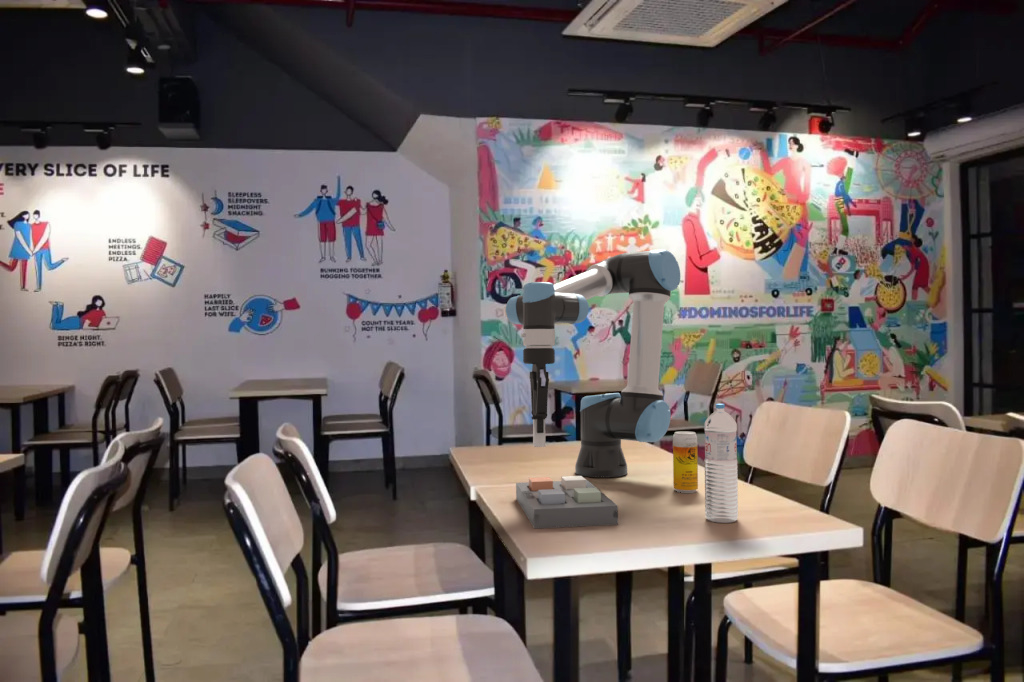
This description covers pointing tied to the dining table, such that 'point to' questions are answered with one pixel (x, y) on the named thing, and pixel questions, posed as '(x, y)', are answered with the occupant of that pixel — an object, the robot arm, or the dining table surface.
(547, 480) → the terracotta key
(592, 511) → the keypad
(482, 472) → the dining table surface
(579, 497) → the sage key
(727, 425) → the water bottle
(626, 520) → the dining table surface
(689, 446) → the beer can
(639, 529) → the dining table surface
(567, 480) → the cream key
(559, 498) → the slate key
